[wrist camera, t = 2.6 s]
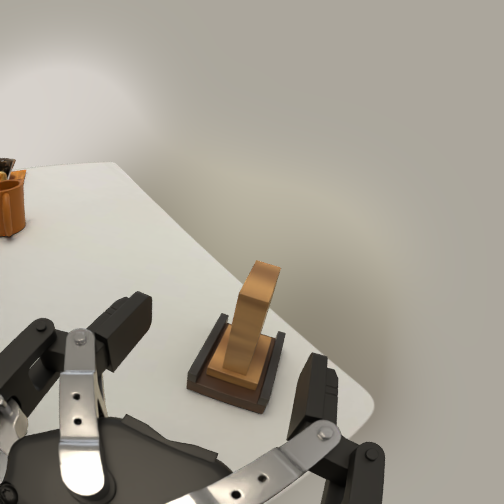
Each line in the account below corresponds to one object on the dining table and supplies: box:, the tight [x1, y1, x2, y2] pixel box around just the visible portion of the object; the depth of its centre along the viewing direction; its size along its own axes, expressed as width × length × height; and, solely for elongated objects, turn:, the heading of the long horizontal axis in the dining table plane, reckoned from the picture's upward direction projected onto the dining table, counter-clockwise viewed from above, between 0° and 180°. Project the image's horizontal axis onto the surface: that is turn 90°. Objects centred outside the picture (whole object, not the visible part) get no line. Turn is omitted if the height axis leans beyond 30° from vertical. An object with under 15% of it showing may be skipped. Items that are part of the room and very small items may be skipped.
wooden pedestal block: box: [206, 261, 281, 390], centre depth 26 cm, size 7×5×10 cm
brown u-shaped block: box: [187, 313, 286, 414], centre depth 29 cm, size 10×8×3 cm
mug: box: [0, 179, 26, 237], centre depth 39 cm, size 9×12×9 cm
